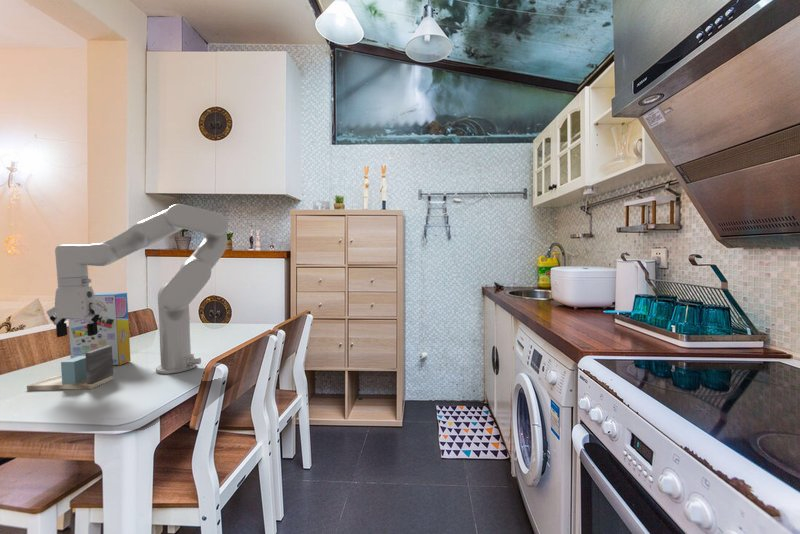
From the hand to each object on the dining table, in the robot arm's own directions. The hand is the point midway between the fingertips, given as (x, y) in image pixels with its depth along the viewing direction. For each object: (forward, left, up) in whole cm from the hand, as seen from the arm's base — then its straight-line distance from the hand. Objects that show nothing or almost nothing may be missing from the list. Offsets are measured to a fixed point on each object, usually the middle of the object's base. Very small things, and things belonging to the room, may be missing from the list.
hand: (77, 335), depth 122 cm
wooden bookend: (+2, 0, -16) cm, 16 cm away
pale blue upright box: (0, 0, -14) cm, 14 cm away
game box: (+11, -24, -16) cm, 31 cm away
